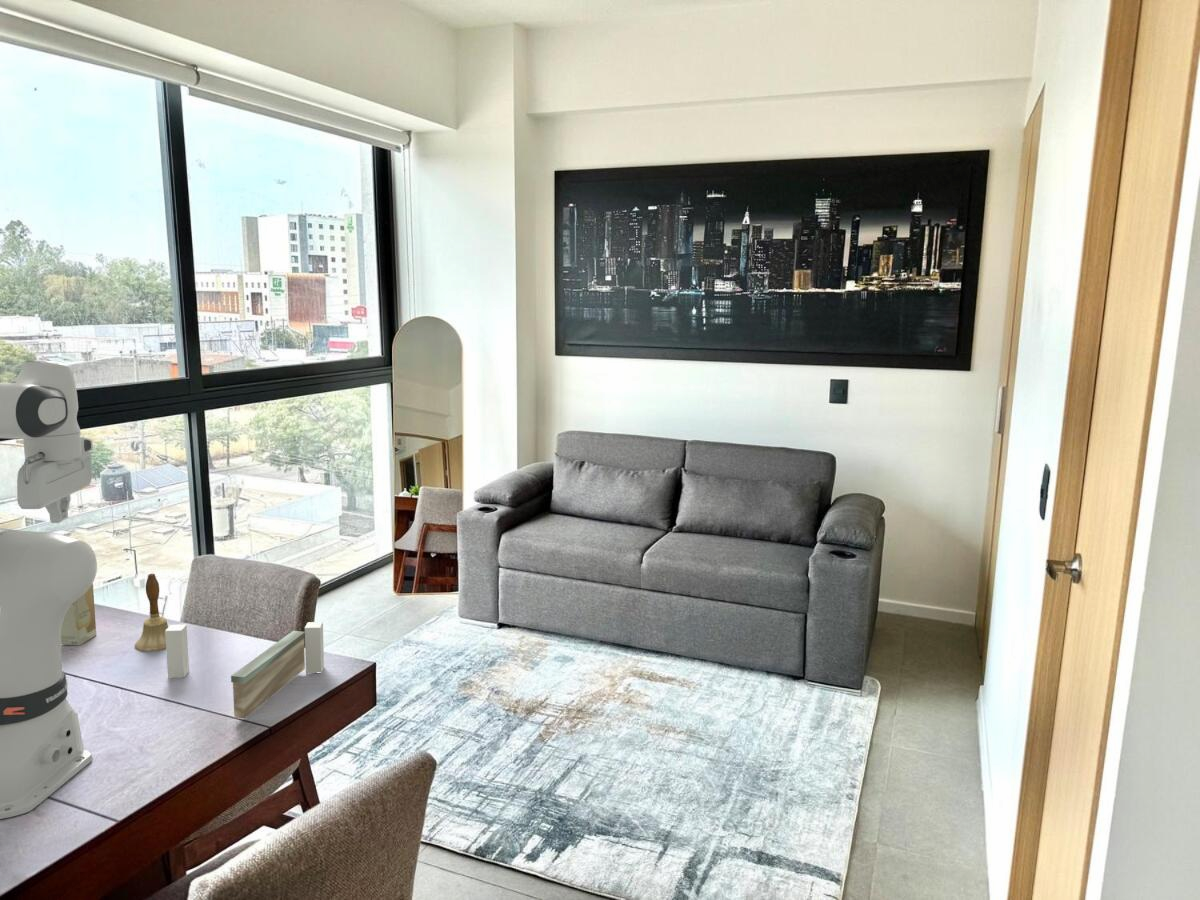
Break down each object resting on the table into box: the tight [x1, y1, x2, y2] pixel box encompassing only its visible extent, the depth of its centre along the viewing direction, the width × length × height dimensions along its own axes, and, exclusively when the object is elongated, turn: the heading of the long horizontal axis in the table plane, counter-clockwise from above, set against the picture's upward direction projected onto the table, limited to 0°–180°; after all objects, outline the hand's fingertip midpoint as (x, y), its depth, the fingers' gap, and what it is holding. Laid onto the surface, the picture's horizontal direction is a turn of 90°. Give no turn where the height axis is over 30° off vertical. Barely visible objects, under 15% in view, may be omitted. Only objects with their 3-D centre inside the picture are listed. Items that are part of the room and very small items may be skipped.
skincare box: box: [61, 582, 97, 646], centre depth 180 cm, size 6×4×12 cm
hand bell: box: [134, 573, 169, 652], centre depth 179 cm, size 8×8×16 cm
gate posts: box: [165, 621, 325, 679], centre depth 167 cm, size 3×30×10 cm, turn 98°
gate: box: [230, 630, 306, 720], centre depth 158 cm, size 3×21×8 cm, turn 171°
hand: (59, 521), depth 154 cm, fingers closed
